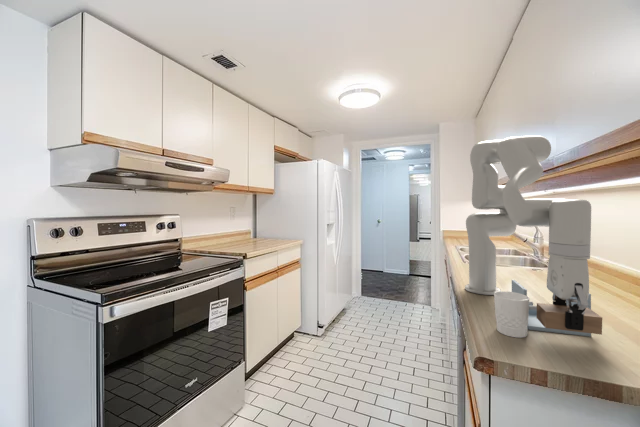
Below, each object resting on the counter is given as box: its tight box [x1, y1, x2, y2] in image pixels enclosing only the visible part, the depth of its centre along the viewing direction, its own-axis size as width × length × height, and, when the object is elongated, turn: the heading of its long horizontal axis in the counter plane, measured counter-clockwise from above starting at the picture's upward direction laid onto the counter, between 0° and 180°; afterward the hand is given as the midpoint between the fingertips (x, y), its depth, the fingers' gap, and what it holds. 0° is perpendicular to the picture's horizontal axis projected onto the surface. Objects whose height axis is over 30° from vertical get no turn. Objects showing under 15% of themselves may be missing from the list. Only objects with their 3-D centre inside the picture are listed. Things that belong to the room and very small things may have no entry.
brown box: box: [536, 302, 603, 335], centre depth 68 cm, size 6×10×4 cm, turn 69°
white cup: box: [493, 290, 531, 339], centre depth 75 cm, size 8×8×10 cm
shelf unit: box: [511, 279, 592, 337], centre depth 79 cm, size 11×15×11 cm
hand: (567, 322), depth 68 cm, fingers closed on brown box, 6 cm apart
